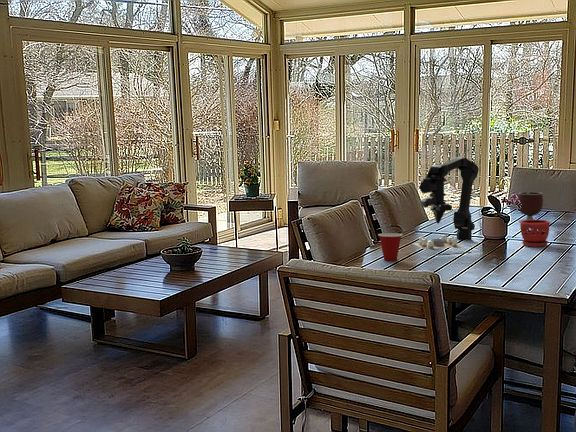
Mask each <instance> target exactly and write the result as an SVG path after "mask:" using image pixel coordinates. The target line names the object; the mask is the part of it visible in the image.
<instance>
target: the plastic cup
mask: <svg viewBox="0 0 576 432" xmlns="http://www.w3.org/2000/svg"><path fill="white" fill-rule="evenodd" d="M377 235H378V237H379V240H380V245H381V250H382V255H383V256H382V257H383V259H384V261H387V262H394V261H396V262H397V260H398V255H399V251H400V244H401V239H402V237H403V234H402V233H397V232H395V233H393V232H392V233H388V232H387V233H386V232H385V233H378V234H377Z"/></svg>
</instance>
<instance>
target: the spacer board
mask: <svg viewBox="0 0 576 432" xmlns="http://www.w3.org/2000/svg"><path fill="white" fill-rule="evenodd" d="M412 245H414V246H416V247H419V248H421V249H423V250H432V249H435V250H436V249H445V248H446V249H447V248H453V247H452V245H450V244H449V240H447V243H445V245H444V246H434V248H432V249H430V248H428V241H427V246H426V247H423V246H422V244H419V242H416V243H412ZM458 247H459V248H460V247H463V245H462V244H459V243H457V247H456V248H458Z"/></svg>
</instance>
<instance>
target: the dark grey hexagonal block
mask: <svg viewBox="0 0 576 432" xmlns="http://www.w3.org/2000/svg"><path fill="white" fill-rule="evenodd" d="M431 240H433V241H434V246H444V245H445V240H444V239H442V238H433V239H431Z"/></svg>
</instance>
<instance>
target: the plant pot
mask: <svg viewBox="0 0 576 432" xmlns="http://www.w3.org/2000/svg"><path fill="white" fill-rule="evenodd" d="M519 224H520V233H521V237H522V244H523V245H524V246H527V247H534V248H536V247H537V248H541V247H545V246H547V245H548V244H549V240H547V239H548V237H549V234H550V221H549V220H546V219H534V220H524V221H521V222H519Z"/></svg>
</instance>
